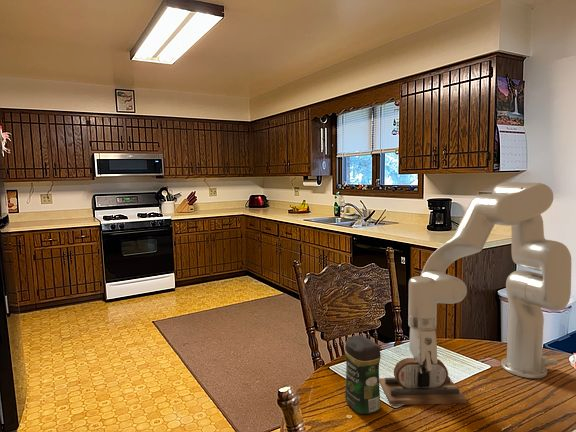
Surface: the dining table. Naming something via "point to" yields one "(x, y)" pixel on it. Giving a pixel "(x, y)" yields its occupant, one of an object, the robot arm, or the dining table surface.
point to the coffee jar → (362, 374)
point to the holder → (421, 393)
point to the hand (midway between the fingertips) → (421, 382)
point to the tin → (409, 371)
